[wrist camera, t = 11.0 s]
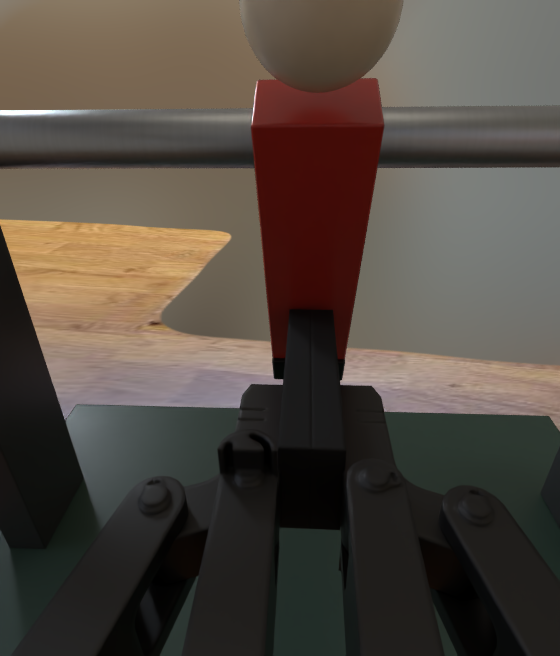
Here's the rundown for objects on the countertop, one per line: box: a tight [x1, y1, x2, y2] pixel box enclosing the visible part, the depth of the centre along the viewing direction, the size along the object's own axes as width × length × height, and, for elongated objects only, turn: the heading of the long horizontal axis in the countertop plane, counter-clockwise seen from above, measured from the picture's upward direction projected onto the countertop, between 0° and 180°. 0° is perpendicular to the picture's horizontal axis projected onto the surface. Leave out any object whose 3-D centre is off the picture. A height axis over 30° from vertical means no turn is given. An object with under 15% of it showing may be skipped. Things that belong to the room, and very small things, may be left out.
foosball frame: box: [0, 226, 560, 656], centre depth 15 cm, size 26×14×17 cm, turn 87°
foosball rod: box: [0, 0, 560, 380], centre depth 14 cm, size 26×4×16 cm, turn 87°
